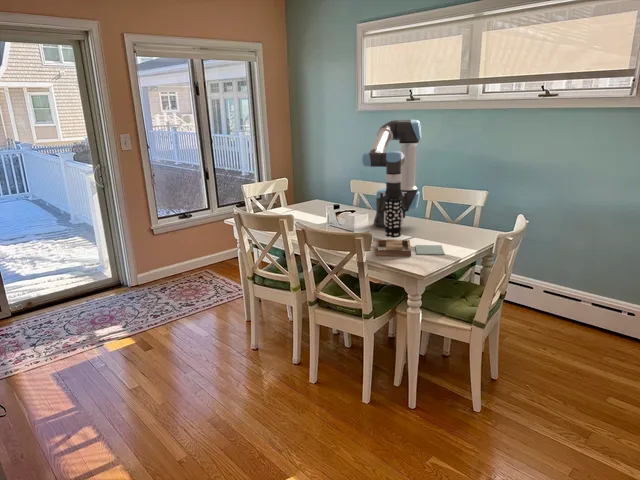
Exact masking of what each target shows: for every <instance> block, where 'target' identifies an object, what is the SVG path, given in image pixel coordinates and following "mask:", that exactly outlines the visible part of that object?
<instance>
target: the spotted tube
mask: <svg viewBox="0 0 640 480" xmlns="http://www.w3.org/2000/svg"><path fill="white" fill-rule="evenodd" d="M401 200H402V199H401V198H400V199H399V200H397V199H390V200H387V198H386V199H385V203H386V209H385V228H384V230H385V233H384V235H385V236H386V237H387V238H390V239H391V238H392V239H395V238H399V237H401V236H402V225H401V211H402V210H401Z"/></svg>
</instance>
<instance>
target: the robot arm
mask: <svg viewBox="0 0 640 480" xmlns="http://www.w3.org/2000/svg"><path fill="white" fill-rule="evenodd" d="M422 133H423V132H422V124H421V122H420V121H419V120H418V119H397V120H395V119H393V120H390V121H388V122H386V123H385V124H383V125H382V126H380V127H379V129H378V130H377V132H376V139H375V140H374V143H373V145H372V147H371V149H370V150H369V151H368V152H364V153H362V158H361V159H362V162H361V163H362V165H363V166H364V167H366V168H372V167H373V168H385V170H386V172H385V178H386V179H385V181H386V183H385V188H381V189H378V190H377V191H376V195H375V203H376V205H375V206H376V209H375V210H376V211H375V216H374V220H373V226H374V227H377V228H384V229H385V209H386V203H385V199H386V198H387V200H390V199H397V200H399V199H400V198H401V199H402V200H401V226H402V225H403V224H404V221H403V220H404V219H405V218H406V212H409V211H416V210H417V208H418V206H419V201H420V197H421V196H420V195H421V192H420V191H419V190H418V187H417V186H416V163H417V160H416V159H417V155H416V154H417V145H419V143H420V141H421V140H422V136H423V135H422ZM391 141H398V144H399V145H400V146H401V151H400V150H389V151H386V149H387V147H388V145H389V143H390V142H391Z"/></svg>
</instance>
